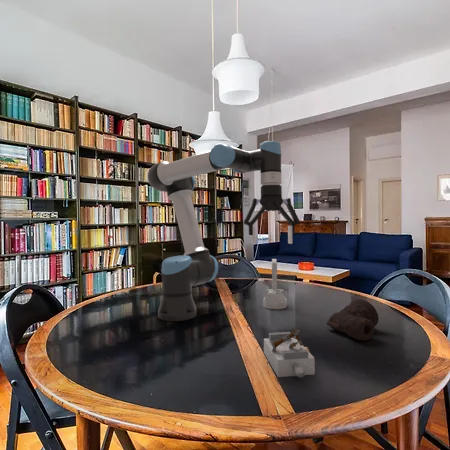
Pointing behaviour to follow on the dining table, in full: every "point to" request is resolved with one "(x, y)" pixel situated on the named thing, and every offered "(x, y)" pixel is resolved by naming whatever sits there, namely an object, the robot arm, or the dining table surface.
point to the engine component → (274, 292)
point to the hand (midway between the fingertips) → (272, 244)
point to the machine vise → (288, 357)
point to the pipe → (355, 320)
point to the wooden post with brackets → (284, 339)
